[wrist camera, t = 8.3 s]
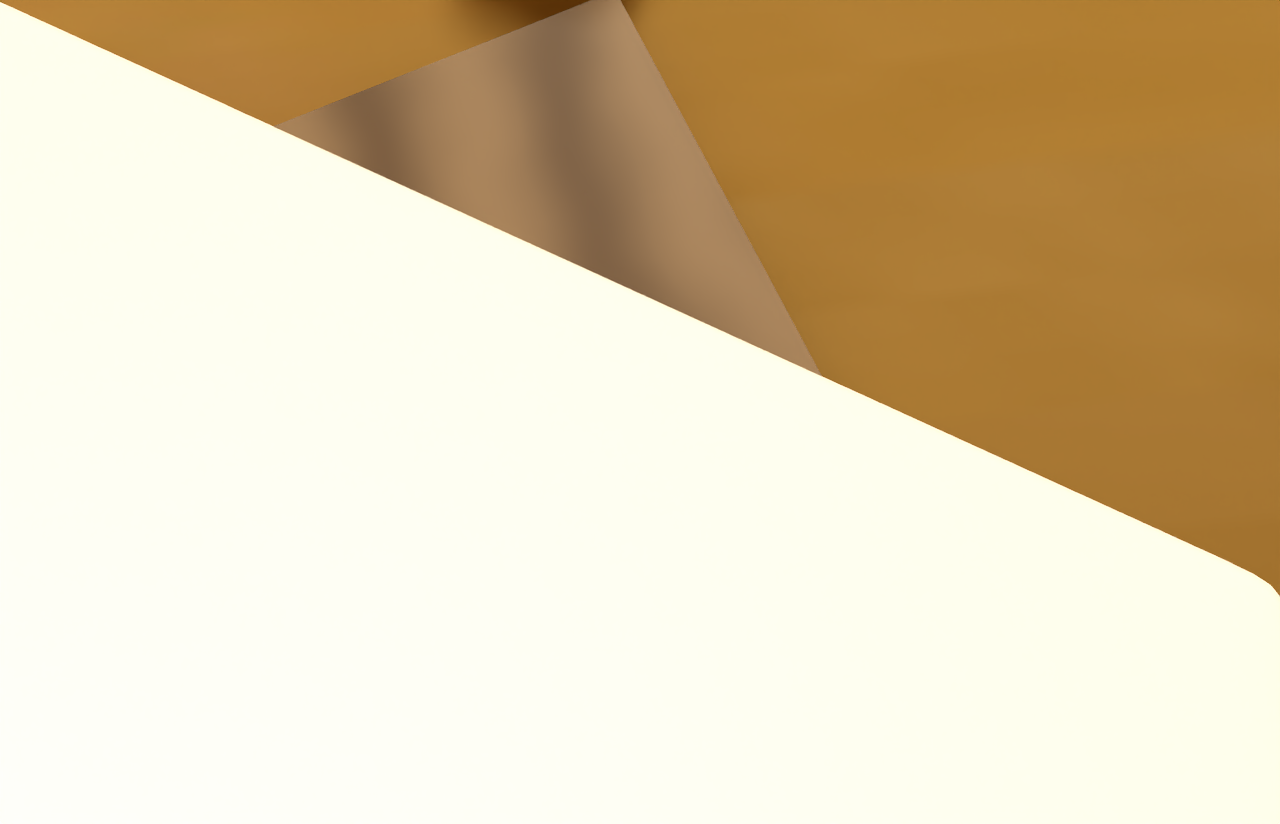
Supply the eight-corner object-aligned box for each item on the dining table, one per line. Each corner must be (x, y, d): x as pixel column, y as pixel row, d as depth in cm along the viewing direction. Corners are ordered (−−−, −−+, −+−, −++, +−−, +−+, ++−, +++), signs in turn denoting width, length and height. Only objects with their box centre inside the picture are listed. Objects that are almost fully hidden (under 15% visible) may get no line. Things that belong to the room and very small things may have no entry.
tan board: (615, 17, 41) (615, -10, 40) (829, 420, 37) (838, 407, 36) (57, 240, 38) (35, 220, 37) (228, 698, 35) (212, 696, 33)
